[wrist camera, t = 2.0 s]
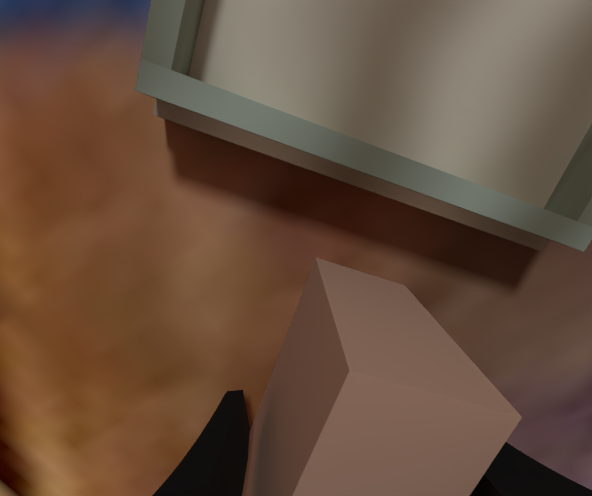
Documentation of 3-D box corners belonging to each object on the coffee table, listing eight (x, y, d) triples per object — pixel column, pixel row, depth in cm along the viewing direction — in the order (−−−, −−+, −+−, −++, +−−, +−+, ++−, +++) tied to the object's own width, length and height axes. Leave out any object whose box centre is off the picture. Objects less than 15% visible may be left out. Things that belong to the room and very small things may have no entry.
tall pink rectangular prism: (403, 284, 14) (521, 417, 7) (322, 458, 16) (349, 674, 10) (315, 256, 13) (349, 370, 6) (245, 440, 16) (218, 656, 9)
